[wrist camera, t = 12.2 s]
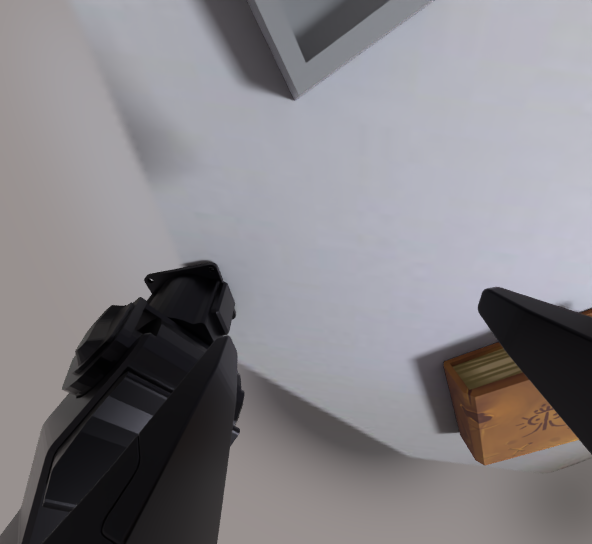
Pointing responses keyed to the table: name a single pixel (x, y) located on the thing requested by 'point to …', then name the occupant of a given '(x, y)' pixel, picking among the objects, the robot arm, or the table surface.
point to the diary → (501, 407)
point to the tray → (325, 33)
